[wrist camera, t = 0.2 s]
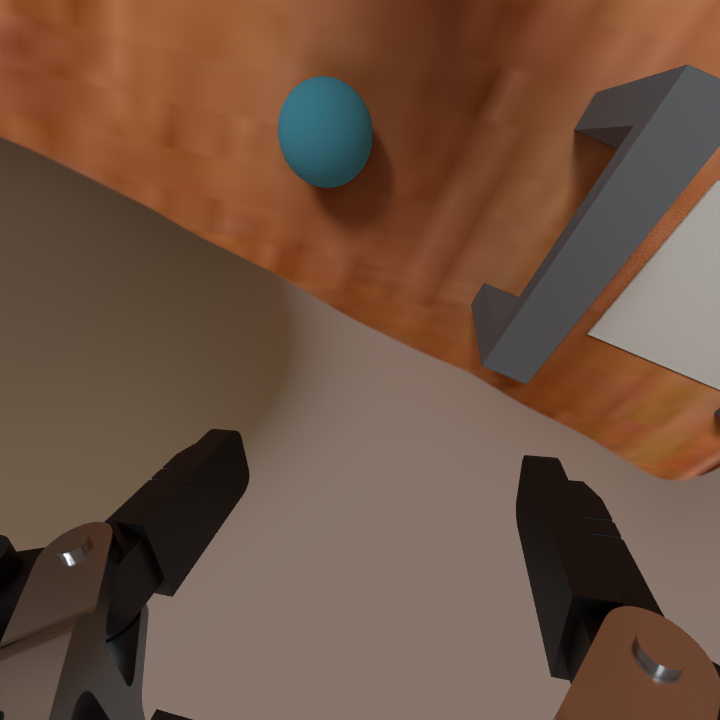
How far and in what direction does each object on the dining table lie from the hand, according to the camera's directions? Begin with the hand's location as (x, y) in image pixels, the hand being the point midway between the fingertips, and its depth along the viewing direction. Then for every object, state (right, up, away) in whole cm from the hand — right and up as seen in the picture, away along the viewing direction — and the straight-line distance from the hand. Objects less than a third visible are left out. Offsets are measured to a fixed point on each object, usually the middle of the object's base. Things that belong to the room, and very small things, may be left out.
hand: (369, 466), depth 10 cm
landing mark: (+26, +8, +16) cm, 31 cm away
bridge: (+13, +13, +16) cm, 24 cm away
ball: (-2, +17, +13) cm, 22 cm away
